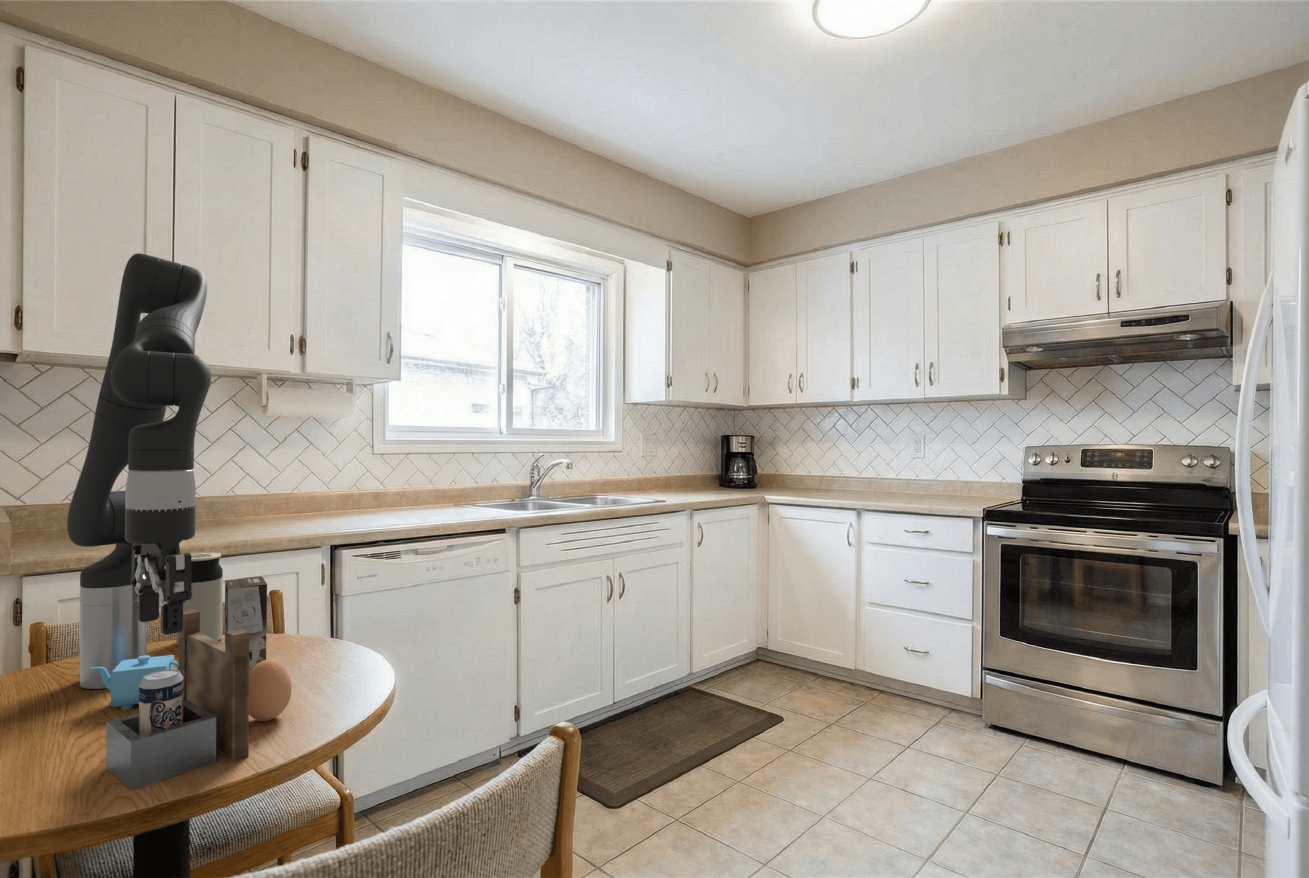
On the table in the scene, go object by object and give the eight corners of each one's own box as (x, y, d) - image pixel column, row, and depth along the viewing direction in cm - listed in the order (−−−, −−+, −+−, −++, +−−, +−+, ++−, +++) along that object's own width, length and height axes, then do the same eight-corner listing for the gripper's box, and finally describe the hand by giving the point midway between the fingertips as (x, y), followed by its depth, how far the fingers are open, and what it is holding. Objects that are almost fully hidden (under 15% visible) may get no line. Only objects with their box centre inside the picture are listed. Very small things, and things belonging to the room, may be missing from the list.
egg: (272, 707, 109) (273, 650, 109) (301, 715, 107) (301, 657, 106) (232, 723, 103) (232, 663, 103) (260, 732, 101) (261, 670, 100)
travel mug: (187, 650, 137) (187, 560, 137) (169, 643, 142) (169, 556, 141) (229, 640, 144) (229, 554, 144) (211, 633, 148) (211, 550, 148)
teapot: (83, 716, 105) (83, 668, 105) (95, 702, 111) (96, 656, 111) (177, 704, 111) (177, 657, 111) (184, 691, 116) (184, 647, 116)
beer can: (160, 775, 88) (160, 682, 88) (129, 771, 89) (129, 679, 89) (192, 757, 92) (192, 669, 92) (162, 754, 93) (162, 666, 93)
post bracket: (106, 767, 90) (106, 721, 90) (188, 741, 97) (188, 699, 97) (130, 790, 84) (131, 742, 84) (216, 761, 92) (216, 716, 91)
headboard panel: (178, 724, 103) (178, 611, 103) (193, 720, 104) (193, 608, 104) (232, 761, 91) (233, 635, 91) (248, 756, 93) (249, 631, 93)
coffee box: (267, 671, 126) (268, 584, 125) (226, 678, 122) (226, 588, 122) (263, 657, 133) (263, 575, 133) (224, 663, 130) (224, 578, 129)
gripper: (215, 506, 89) (213, 631, 89) (174, 497, 97) (172, 611, 98) (145, 511, 83) (144, 644, 83) (108, 501, 91) (107, 622, 92)
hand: (159, 626), depth 90 cm, fingers open, 8 cm apart
